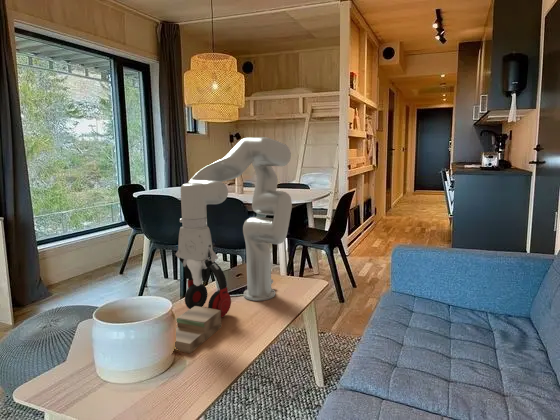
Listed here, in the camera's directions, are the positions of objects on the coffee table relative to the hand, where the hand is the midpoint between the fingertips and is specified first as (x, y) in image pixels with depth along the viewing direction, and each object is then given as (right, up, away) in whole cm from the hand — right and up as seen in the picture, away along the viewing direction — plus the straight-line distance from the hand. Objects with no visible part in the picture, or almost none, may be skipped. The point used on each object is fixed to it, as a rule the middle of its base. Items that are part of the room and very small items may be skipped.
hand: (197, 278), depth 129 cm
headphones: (+1, -16, +17) cm, 23 cm away
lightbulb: (0, -3, 0) cm, 3 cm away
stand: (-1, -18, -1) cm, 19 cm away
